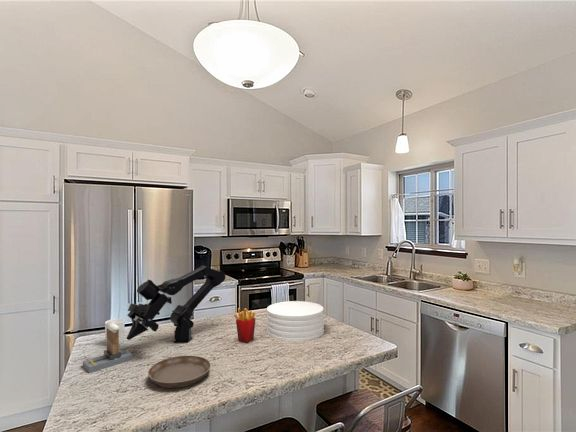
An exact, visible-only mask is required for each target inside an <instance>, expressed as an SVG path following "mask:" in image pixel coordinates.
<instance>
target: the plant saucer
mask: <svg viewBox="0 0 576 432" xmlns="http://www.w3.org/2000/svg"><path fill="white" fill-rule="evenodd" d="M211 366H212V364H211V362H210V361H209V360H208V359H206V358H204V357H203V356H197V355H179V356H173V357H170V358H165V359H163V360H161V361H158V362H156V363H155V364H153V365H152V366H150V368H149V369H148V371H147V374H148V377H149V379H150V380H151V381H152V382H153V383H154V384H156V385H157V386H159V387H162V388H166V389H176V388H183V387H188V386H192V385H194V384H195V383H197V382H199V381H201V380H202V379H203V378H204V377H205V376H206V375H207V374H208V372H209V371H210V369H211Z"/></svg>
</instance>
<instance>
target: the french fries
mask: <svg viewBox="0 0 576 432" xmlns="http://www.w3.org/2000/svg"><path fill="white" fill-rule="evenodd" d="M237 313H238V316H237V315H236V314H235V313H233V317H234V318H235V324H236V332H237V340H238V342H240V343H244V344H248V343H251V342H252V341H254V338H255V329H256V328H255V327H256V326H255V325H256V320H257V319H256V318H255V315H256V311H252V309H251V310H249V309H247V308H246V307H245V308H243V310H241V307H238V308H237Z"/></svg>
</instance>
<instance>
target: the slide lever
mask: <svg viewBox="0 0 576 432" xmlns="http://www.w3.org/2000/svg"><path fill="white" fill-rule="evenodd" d="M106 328H107V345H106V349H105V350H104V351H103V355H105V356H106V357H107V358H108V359H110V360H111V359H115V358H118V357H121V352H120V351H121V350H119V348H120V346H119V345H120V344H119V326H117V325H116V324H114V323H112V322H108V323H107V324H106Z"/></svg>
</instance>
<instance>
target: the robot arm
mask: <svg viewBox="0 0 576 432" xmlns="http://www.w3.org/2000/svg"><path fill="white" fill-rule="evenodd" d="M204 276H205V277H206V279H205V282H204V283H203V284H202V285H201V286H200V287H199V289H197V291H195V293H194V294H192V296H191V297H190V298H189V299H188V301H186V302H185V304H183V305H180V304H178V305H177V306H176V307H175V309H173V310H171V312H172V313H171V314H170V318H169V319H170V321H171V323H172V324H173V326H174V327H175V330H174V341H173V343H177V344H179V343H181V344H182V343H184V344H185V343H186V344H187V343H190V341H191V340H192V339H193V336H192V328H193V327H194V324H195V322H194V321H193V320H191V318H192V315H193V311H194V310H195V309H196V308H198V306H199V304H200V303H201V302H202V301H203V300H204V299H205V298H206V297H207V296H208V295H209V293H210V292H211V291H213V289H214V288H216V287H217V286H220V285H221V284H222V283H223V282H224V281H225V280H226V273H225V272H224V271H223V270H218V269H214V268H210V267H209V266H207V265H206V266H205V265H201V266H199V267H197V268H196V269H194V270H191V271H189V272H188V273H185V274H184V275H181V276H180V277H176V278H171V279H167V280H165V281H163V282H162V283H161V284H159V285H157V284H155V283H154V281H152V280H151V279H147V280H146V281H145V282H142V284H140V285H139V286H138V287H137V289H136V292H137V294H139V296H141V297H143V298H144V299H145V300H146V301H149V302H148V303H144V304H143V303H139V304H137V303H130V304H129V305H128V306H129V307H128V309H127V312H129V313H128V314H127V315H126V316H127V317H128V318H130V319H131V320H130V321H131V323H132V325H131V328H130V329H129V332H128V334H127V336H126V339H127V341H130V340H132V339H133V338H135V337H137V336H139V335H141V334H143V333H144V332H146V331H147V332H148V331H149V329H151V331H152V332H155V333H156V332H157V331H158V329H159V324H158V323H157V322H156V321H154V318H156V316H159V315H160V314H161V313H160V311H161V310H162V309H163V308H164V306H165V305H166V304H170V305H171V304H172V303H173V301H172V297H171V296H176V294H178V293H179V292H180V291H182V289H183V288H184V287H185V286H187V285H188V284H190V283H193V282H194V281H197V280H198V279H200V278H202V277H204ZM160 292H161V293H160ZM167 295H169V296H167Z"/></svg>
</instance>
